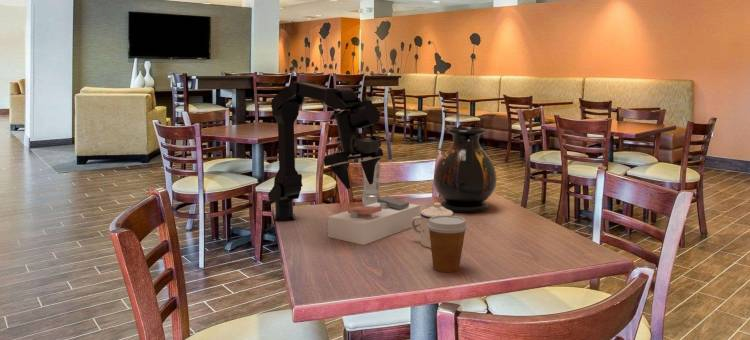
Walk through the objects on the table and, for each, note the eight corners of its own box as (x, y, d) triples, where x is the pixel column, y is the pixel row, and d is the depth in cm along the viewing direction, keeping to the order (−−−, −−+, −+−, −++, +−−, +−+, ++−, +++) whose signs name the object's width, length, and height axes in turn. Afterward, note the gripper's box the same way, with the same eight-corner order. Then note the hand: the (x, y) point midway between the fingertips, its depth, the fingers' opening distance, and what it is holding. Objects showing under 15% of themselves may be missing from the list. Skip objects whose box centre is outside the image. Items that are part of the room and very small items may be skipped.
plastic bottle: (379, 209, 196) (379, 152, 193) (360, 208, 197) (360, 151, 194) (382, 205, 202) (383, 150, 199) (364, 204, 204) (364, 149, 200)
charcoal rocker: (376, 202, 175) (377, 198, 174) (386, 199, 178) (387, 195, 178) (399, 209, 170) (399, 205, 169) (408, 206, 174) (409, 202, 173)
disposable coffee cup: (423, 262, 142) (424, 215, 140) (460, 261, 143) (462, 214, 141) (430, 275, 132) (431, 225, 130) (470, 274, 133) (471, 224, 131)
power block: (328, 236, 163) (328, 211, 162) (386, 217, 185) (386, 194, 184) (363, 245, 156) (363, 218, 154) (419, 224, 177) (419, 200, 176)
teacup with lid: (457, 242, 159) (458, 201, 157) (447, 251, 151) (448, 208, 149) (416, 236, 164) (417, 197, 162) (405, 245, 156) (405, 203, 154)
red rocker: (347, 213, 164) (347, 209, 164) (358, 210, 168) (358, 206, 167) (371, 214, 158) (370, 209, 158) (381, 210, 162) (381, 206, 162)
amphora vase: (501, 215, 188) (504, 131, 184) (435, 215, 189) (437, 131, 184) (489, 201, 209) (491, 125, 205) (430, 201, 210) (432, 125, 205)
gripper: (344, 128, 147) (357, 187, 147) (391, 123, 161) (402, 177, 161) (317, 136, 155) (328, 193, 154) (364, 131, 168) (374, 183, 168)
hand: (360, 186), depth 159 cm, fingers open, 9 cm apart
